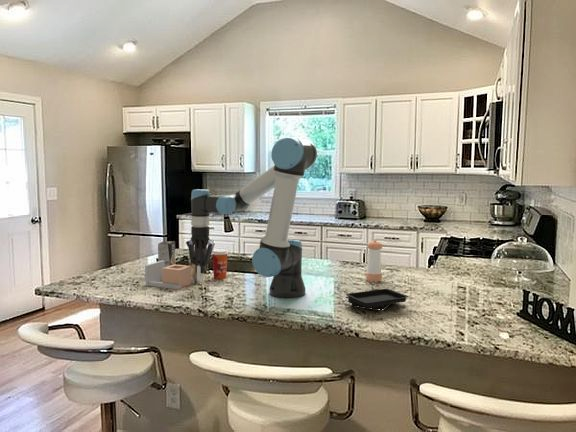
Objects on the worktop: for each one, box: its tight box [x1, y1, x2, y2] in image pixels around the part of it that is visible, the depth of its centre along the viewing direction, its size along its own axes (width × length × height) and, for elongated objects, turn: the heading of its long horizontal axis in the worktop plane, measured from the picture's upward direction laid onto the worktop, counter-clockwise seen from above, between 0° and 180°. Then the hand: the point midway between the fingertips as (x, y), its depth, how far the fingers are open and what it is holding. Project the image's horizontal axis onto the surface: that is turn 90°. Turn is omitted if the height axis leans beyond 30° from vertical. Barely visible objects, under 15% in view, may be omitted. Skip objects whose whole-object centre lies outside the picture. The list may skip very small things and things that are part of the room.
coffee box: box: [157, 240, 176, 267], centre depth 231 cm, size 9×6×16 cm
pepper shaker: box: [365, 239, 383, 282], centre depth 222 cm, size 7×7×19 cm
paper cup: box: [211, 248, 229, 280], centre depth 221 cm, size 8×8×14 cm
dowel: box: [191, 263, 199, 283], centre depth 214 cm, size 3×3×14 cm
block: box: [161, 263, 193, 289], centre depth 206 cm, size 9×9×8 cm
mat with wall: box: [144, 260, 195, 290], centre depth 211 cm, size 19×20×10 cm
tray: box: [345, 288, 409, 311], centre depth 182 cm, size 30×23×5 cm
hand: (200, 280), depth 202 cm, fingers closed
